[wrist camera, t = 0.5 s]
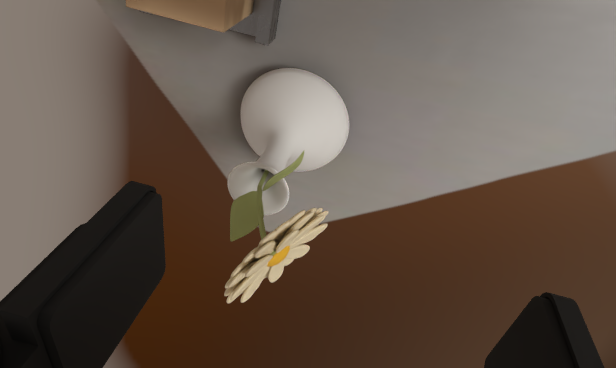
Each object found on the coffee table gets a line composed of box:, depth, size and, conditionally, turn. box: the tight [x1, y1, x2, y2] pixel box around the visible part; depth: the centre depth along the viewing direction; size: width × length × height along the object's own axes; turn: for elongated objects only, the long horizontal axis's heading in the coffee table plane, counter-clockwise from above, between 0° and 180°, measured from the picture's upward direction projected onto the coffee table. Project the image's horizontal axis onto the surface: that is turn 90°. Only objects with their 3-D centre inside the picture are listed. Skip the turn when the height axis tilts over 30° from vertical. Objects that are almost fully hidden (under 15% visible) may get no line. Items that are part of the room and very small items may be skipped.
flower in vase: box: [224, 68, 349, 303], centre depth 32 cm, size 13×11×25 cm
